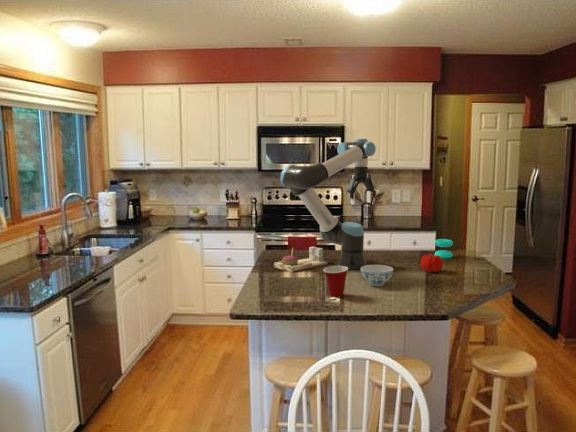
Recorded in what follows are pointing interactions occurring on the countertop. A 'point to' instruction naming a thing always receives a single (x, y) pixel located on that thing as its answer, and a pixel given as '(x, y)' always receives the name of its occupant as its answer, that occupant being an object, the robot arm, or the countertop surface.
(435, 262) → the tomato
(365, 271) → the chinaware
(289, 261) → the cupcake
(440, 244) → the pair of cyan discs
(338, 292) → the plastic cup
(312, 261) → the wooden tray
